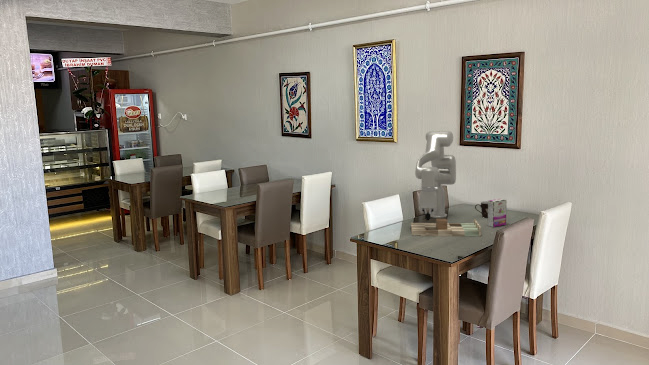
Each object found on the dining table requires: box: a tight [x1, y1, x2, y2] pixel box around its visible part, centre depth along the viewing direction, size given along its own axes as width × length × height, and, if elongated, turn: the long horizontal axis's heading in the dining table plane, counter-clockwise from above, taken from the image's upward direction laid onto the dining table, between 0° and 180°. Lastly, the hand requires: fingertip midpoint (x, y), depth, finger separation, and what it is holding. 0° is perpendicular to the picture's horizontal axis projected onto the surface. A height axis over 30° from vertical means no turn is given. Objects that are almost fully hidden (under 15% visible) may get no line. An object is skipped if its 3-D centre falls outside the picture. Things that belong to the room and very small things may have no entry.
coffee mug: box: [474, 200, 489, 219], centre depth 326 cm, size 12×9×10 cm
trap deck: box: [410, 219, 482, 237], centre depth 291 cm, size 19×39×6 cm, turn 82°
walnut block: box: [435, 218, 448, 229], centre depth 288 cm, size 6×6×5 cm
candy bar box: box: [487, 198, 507, 228], centre depth 302 cm, size 11×5×16 cm, turn 117°
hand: (427, 220), depth 288 cm, fingers closed
